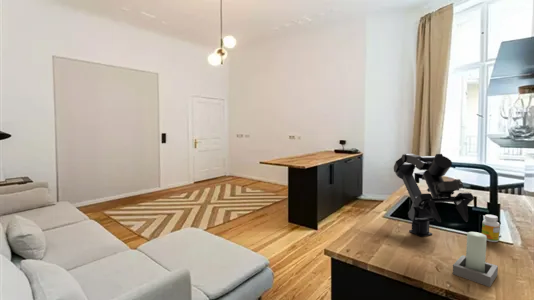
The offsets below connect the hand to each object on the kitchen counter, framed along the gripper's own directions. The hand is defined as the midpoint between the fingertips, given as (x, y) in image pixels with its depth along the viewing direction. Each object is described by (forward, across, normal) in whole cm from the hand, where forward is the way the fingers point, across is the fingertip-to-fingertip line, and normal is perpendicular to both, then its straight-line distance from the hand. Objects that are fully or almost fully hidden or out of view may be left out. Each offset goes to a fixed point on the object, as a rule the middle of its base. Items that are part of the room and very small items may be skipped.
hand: (453, 221), depth 94 cm
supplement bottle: (-1, +25, +20) cm, 32 cm away
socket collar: (+17, +1, +3) cm, 17 cm away
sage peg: (+17, +1, +3) cm, 17 cm away
